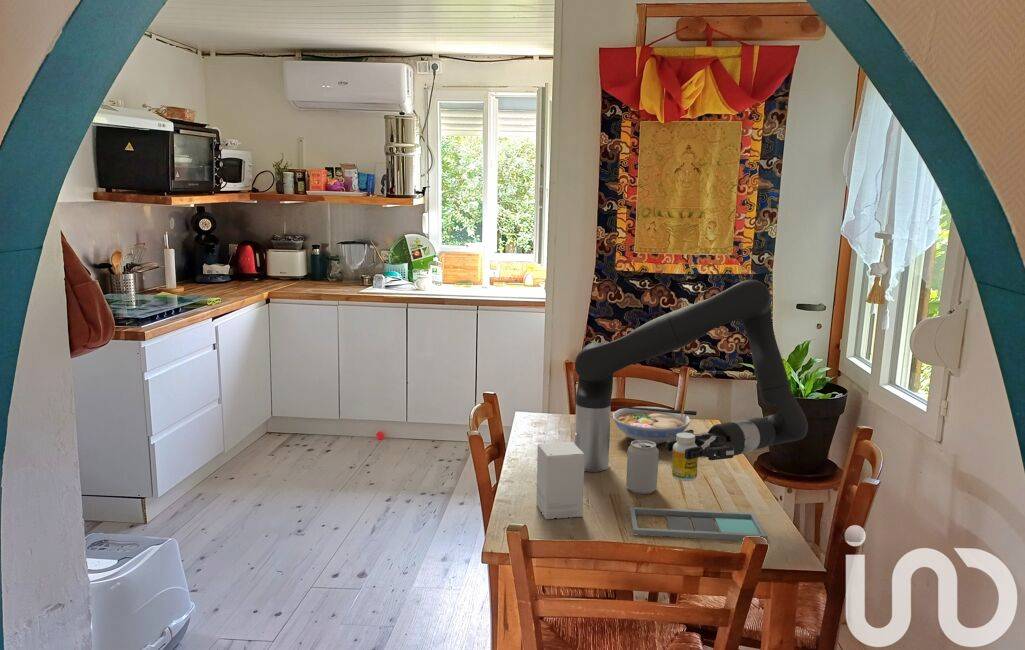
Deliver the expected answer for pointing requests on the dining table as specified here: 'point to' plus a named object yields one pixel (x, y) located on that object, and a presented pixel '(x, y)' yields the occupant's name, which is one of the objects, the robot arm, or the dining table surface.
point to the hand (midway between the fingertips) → (676, 450)
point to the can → (642, 467)
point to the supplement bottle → (680, 465)
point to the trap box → (701, 524)
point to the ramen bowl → (651, 422)
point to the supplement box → (560, 480)
